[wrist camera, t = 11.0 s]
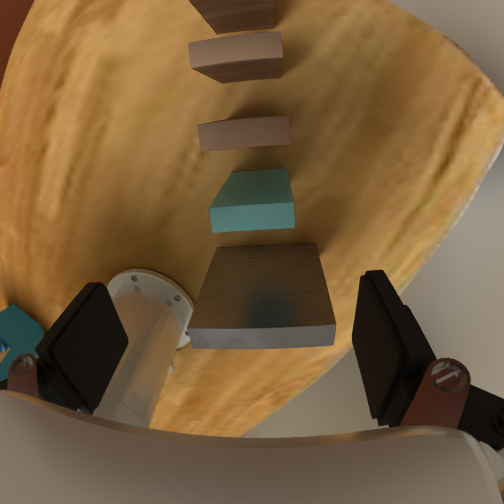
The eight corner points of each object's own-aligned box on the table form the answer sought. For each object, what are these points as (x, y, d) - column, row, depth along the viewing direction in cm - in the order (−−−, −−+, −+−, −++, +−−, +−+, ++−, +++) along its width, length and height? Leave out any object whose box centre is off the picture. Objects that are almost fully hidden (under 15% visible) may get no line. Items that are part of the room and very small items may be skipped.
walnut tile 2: (273, 28, 19) (273, -17, 10) (216, 34, 19) (184, -5, 11) (271, 13, 18) (270, -36, 9) (215, 19, 19) (183, -24, 10)
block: (50, 331, 40) (-4, 414, 22) (51, 346, 42) (2, 423, 24) (6, 297, 37) (-53, 366, 20) (8, 313, 40) (-44, 380, 22)
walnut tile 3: (279, 78, 21) (283, 57, 12) (221, 83, 22) (190, 68, 13) (277, 61, 20) (280, 31, 12) (220, 67, 21) (188, 43, 12)
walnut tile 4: (284, 131, 23) (291, 144, 15) (227, 136, 24) (201, 152, 15) (282, 114, 23) (289, 116, 14) (225, 119, 23) (197, 125, 14)
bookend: (315, 260, 29) (333, 345, 19) (219, 264, 30) (193, 348, 20) (315, 242, 28) (336, 324, 18) (216, 247, 29) (186, 328, 19)
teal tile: (231, 172, 26) (208, 208, 17) (286, 168, 25) (293, 202, 16) (233, 188, 26) (212, 232, 17) (287, 185, 26) (294, 227, 17)
